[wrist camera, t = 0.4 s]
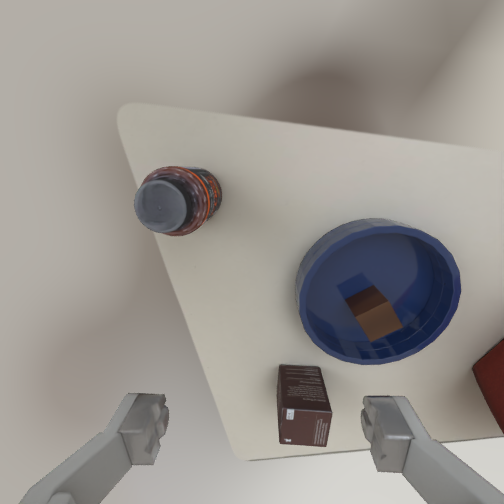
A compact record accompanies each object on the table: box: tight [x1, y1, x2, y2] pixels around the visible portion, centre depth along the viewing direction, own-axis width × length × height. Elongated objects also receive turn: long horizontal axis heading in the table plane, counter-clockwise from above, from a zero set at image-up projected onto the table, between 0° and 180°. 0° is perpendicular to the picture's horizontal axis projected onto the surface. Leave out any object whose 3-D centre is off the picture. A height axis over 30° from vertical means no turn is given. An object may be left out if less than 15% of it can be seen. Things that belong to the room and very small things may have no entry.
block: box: [345, 285, 403, 342], centre depth 30 cm, size 4×4×4 cm
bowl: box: [295, 218, 461, 365], centre depth 30 cm, size 18×18×4 cm
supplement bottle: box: [134, 166, 222, 236], centre depth 24 cm, size 6×6×11 cm
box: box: [277, 365, 332, 447], centre depth 34 cm, size 6×6×7 cm
